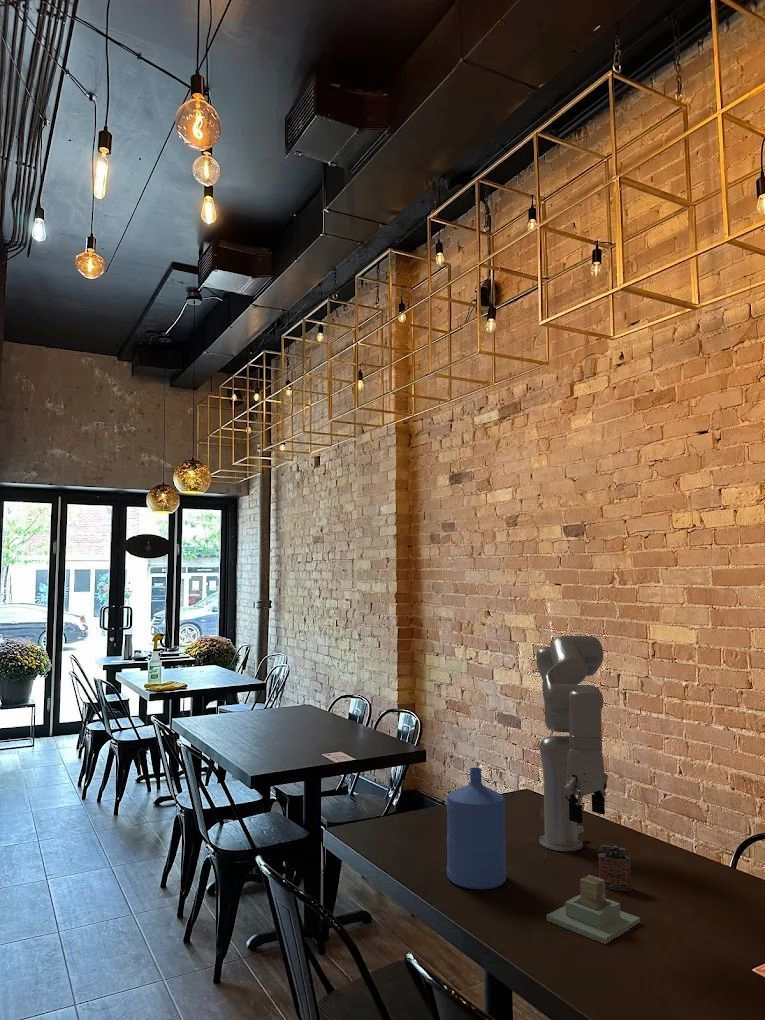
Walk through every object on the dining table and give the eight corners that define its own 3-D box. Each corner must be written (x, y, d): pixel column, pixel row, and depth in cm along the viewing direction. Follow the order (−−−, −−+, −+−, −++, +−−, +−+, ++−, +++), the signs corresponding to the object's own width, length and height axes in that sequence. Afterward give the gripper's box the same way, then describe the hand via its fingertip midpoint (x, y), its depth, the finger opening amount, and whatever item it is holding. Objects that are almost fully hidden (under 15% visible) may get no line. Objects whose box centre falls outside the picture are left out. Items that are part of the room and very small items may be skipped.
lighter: (631, 886, 183) (630, 845, 185) (631, 891, 180) (630, 850, 181) (599, 882, 186) (598, 842, 187) (598, 887, 183) (597, 846, 184)
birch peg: (590, 910, 166) (589, 874, 167) (605, 916, 164) (604, 879, 164) (580, 915, 164) (580, 879, 165) (596, 921, 161) (595, 884, 162)
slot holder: (582, 902, 174) (582, 884, 174) (640, 923, 163) (639, 903, 163) (546, 920, 164) (546, 901, 164) (605, 944, 153) (604, 923, 153)
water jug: (505, 893, 179) (504, 778, 182) (443, 887, 182) (443, 774, 185) (507, 870, 194) (506, 763, 197) (450, 865, 197) (449, 760, 200)
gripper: (591, 735, 178) (592, 806, 176) (551, 745, 167) (552, 821, 165) (618, 740, 173) (620, 813, 171) (579, 751, 161) (581, 829, 159)
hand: (587, 817), depth 168 cm, fingers open, 9 cm apart
